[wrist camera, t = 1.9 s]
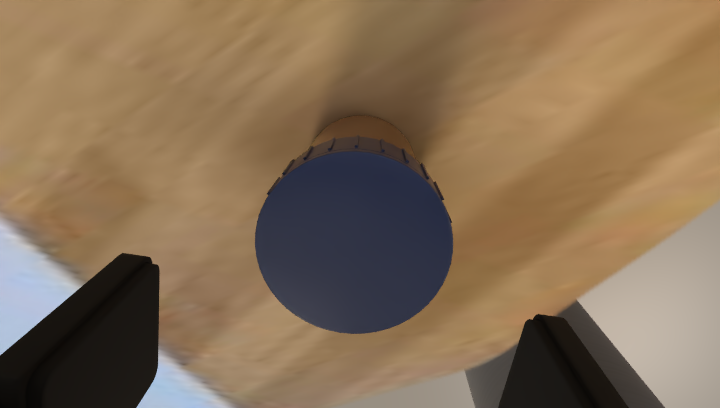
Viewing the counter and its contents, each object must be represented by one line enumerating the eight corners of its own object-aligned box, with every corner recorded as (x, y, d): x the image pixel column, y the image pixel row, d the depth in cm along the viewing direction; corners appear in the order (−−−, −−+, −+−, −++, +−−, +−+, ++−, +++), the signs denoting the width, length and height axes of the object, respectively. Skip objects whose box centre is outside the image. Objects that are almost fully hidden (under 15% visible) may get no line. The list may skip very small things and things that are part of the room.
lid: (460, 150, 18) (476, 167, 15) (424, 309, 20) (432, 348, 17) (278, 121, 17) (262, 133, 15) (262, 284, 20) (245, 320, 17)
